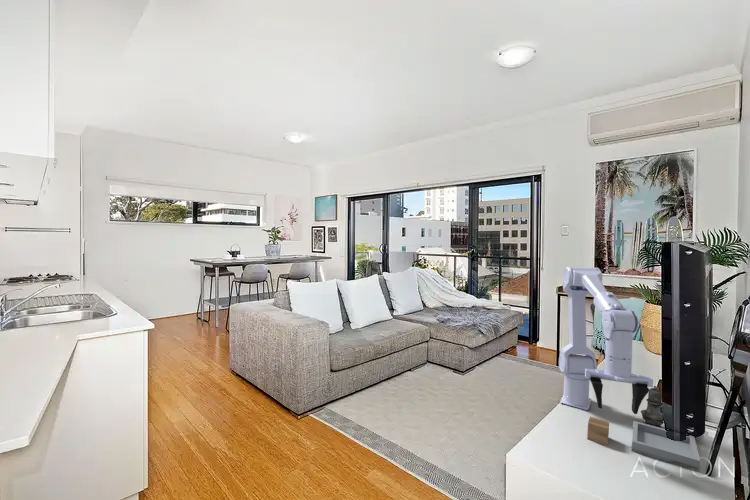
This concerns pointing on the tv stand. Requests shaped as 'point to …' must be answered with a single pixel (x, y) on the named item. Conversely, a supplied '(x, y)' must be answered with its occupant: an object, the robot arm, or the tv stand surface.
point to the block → (598, 430)
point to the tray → (664, 446)
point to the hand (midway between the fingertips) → (616, 409)
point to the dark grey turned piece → (653, 409)
